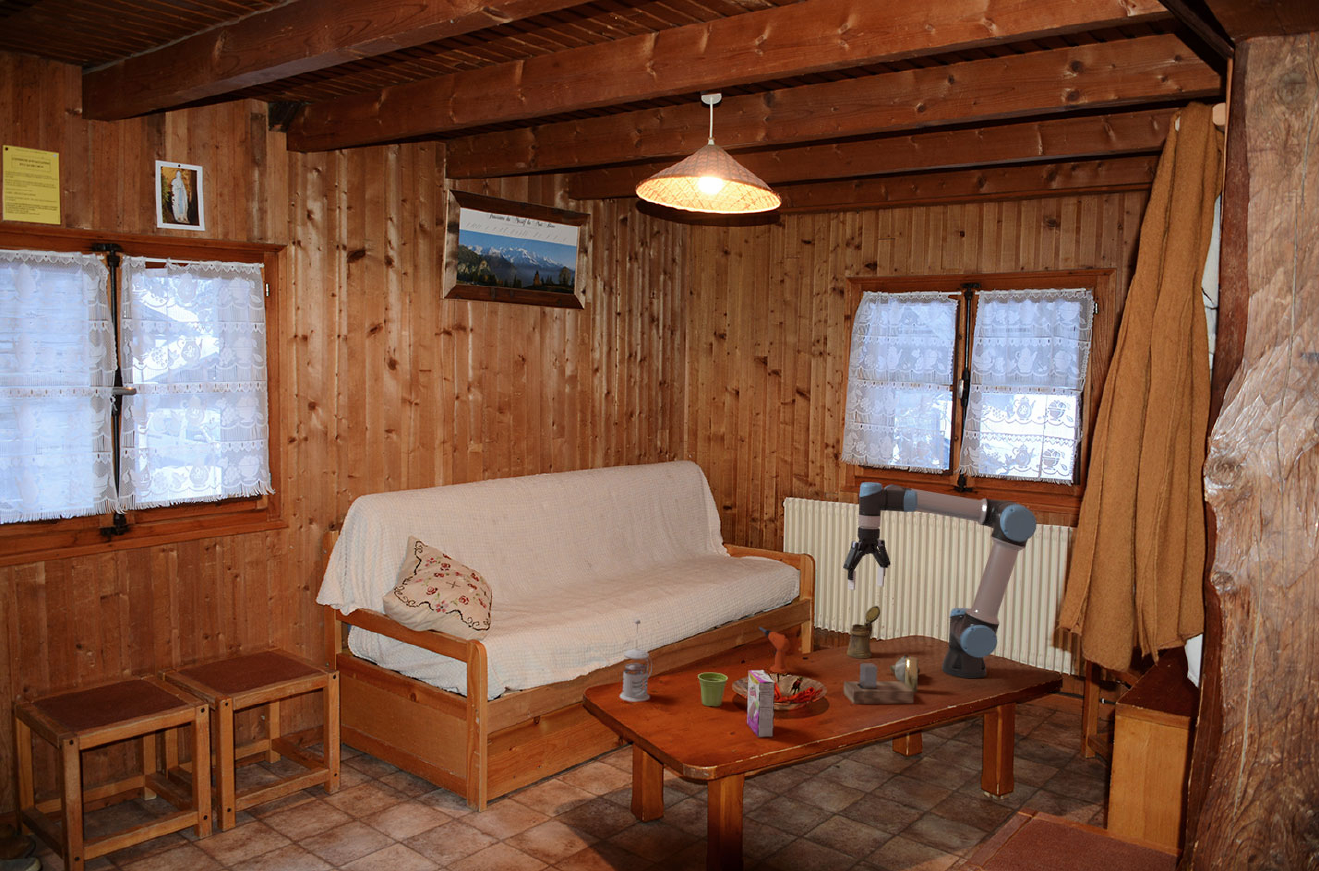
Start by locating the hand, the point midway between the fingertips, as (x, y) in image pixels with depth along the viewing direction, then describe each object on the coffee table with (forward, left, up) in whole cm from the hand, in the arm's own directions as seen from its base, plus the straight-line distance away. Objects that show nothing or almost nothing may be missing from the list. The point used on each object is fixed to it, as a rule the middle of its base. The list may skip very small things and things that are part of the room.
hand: (866, 587), depth 335 cm
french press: (+81, +18, -32) cm, 89 cm away
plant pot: (+58, +26, -32) cm, 71 cm away
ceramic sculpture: (-15, +2, -32) cm, 36 cm away
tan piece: (-10, -27, -32) cm, 43 cm away
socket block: (+2, +22, -32) cm, 39 cm away
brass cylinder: (-12, +15, -32) cm, 37 cm away
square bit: (+6, +22, -31) cm, 39 cm away
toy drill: (+30, -9, -32) cm, 45 cm away
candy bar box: (+48, +49, -32) cm, 76 cm away
